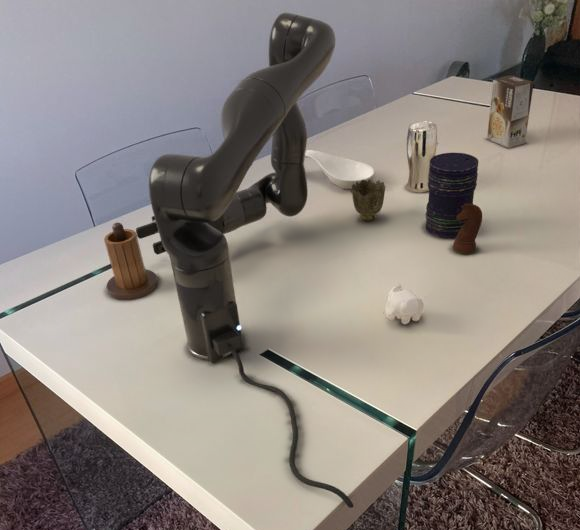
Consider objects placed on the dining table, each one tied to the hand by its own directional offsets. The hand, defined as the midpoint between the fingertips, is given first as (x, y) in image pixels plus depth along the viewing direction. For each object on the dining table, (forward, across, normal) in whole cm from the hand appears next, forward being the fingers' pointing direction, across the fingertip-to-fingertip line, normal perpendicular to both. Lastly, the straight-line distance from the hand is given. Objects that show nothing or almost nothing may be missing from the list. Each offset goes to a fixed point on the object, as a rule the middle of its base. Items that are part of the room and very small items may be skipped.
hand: (145, 241), depth 125 cm
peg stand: (+5, 0, +8) cm, 10 cm away
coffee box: (-107, -4, +9) cm, 108 cm away
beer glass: (-69, +3, +9) cm, 70 cm away
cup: (-49, +8, +9) cm, 51 cm away
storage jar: (-59, +23, +9) cm, 64 cm away
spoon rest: (-55, -15, +9) cm, 58 cm away
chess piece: (-55, +32, +9) cm, 65 cm away
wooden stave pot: (+5, 0, +7) cm, 9 cm away
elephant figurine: (-29, +43, +9) cm, 53 cm away
